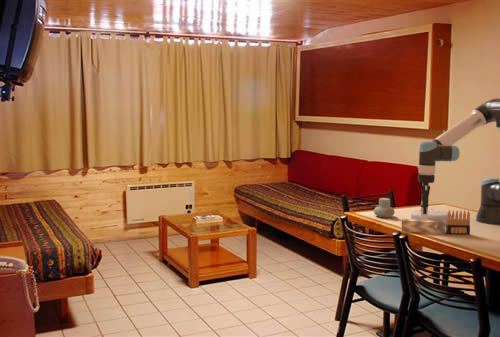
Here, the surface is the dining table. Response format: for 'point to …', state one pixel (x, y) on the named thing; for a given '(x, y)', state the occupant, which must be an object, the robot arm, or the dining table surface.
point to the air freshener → (384, 208)
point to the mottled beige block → (424, 226)
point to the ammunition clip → (458, 223)
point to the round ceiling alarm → (432, 215)
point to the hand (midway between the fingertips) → (423, 217)
